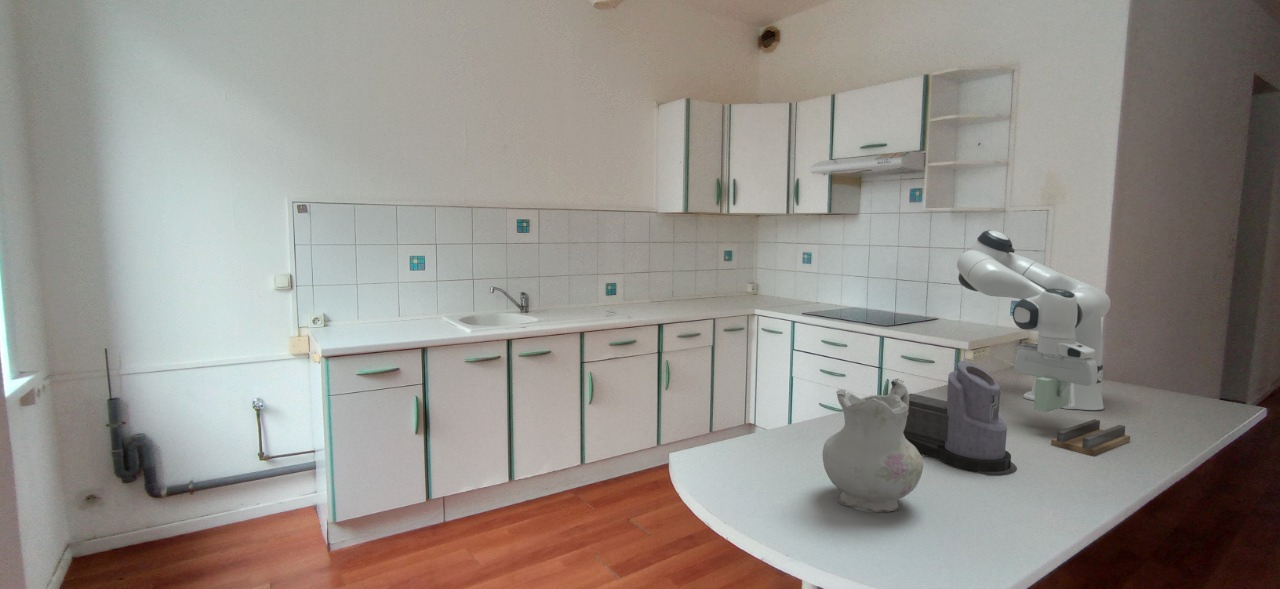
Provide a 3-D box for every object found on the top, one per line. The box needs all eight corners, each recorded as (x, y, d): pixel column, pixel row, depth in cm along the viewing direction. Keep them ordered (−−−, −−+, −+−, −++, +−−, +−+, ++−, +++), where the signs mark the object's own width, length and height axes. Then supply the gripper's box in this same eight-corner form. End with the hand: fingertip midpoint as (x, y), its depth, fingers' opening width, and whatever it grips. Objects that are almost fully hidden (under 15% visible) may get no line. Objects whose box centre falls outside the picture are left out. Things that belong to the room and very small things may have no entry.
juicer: (1027, 465, 152) (1035, 366, 150) (998, 481, 142) (1006, 375, 140) (910, 434, 176) (915, 348, 173) (878, 445, 166) (883, 354, 164)
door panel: (1033, 410, 176) (1035, 378, 175) (1057, 402, 183) (1059, 372, 182) (1045, 412, 173) (1047, 380, 172) (1068, 405, 181) (1070, 374, 180)
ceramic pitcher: (849, 478, 146) (845, 372, 145) (939, 494, 133) (935, 378, 132) (809, 509, 129) (804, 389, 128) (908, 531, 117) (903, 399, 115)
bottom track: (1050, 444, 168) (1052, 430, 167) (1088, 431, 179) (1089, 418, 179) (1093, 456, 159) (1095, 440, 159) (1129, 441, 171) (1131, 427, 171)
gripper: (1011, 342, 183) (1008, 388, 185) (1091, 353, 166) (1087, 404, 168) (1022, 340, 187) (1019, 386, 188) (1102, 351, 170) (1098, 401, 171)
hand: (1052, 395), depth 178 cm, fingers closed on door panel, 3 cm apart
